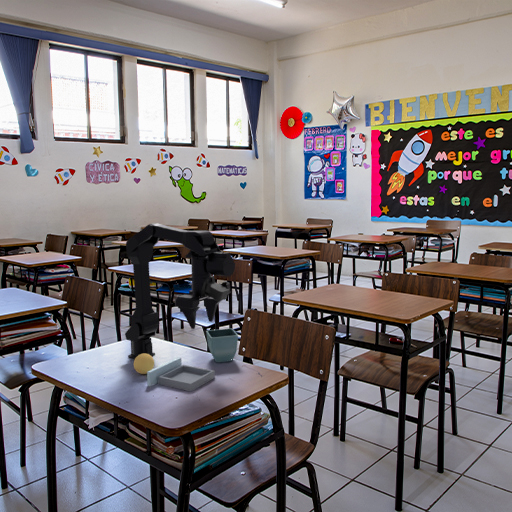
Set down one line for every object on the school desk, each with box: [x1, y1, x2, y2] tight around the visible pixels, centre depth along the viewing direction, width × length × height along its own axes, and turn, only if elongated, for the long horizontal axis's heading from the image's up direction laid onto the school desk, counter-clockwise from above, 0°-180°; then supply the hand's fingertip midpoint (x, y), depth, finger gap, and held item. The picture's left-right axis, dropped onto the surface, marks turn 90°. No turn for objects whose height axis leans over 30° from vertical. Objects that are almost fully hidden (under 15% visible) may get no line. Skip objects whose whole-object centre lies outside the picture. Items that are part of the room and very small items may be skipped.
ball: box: [133, 353, 155, 375], centre depth 147 cm, size 6×6×6 cm
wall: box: [146, 357, 183, 387], centre depth 143 cm, size 1×14×4 cm, turn 150°
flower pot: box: [205, 328, 239, 364], centre depth 158 cm, size 9×9×9 cm
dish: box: [157, 364, 216, 392], centre depth 140 cm, size 11×11×2 cm
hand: (202, 325), depth 148 cm, fingers open, 9 cm apart
